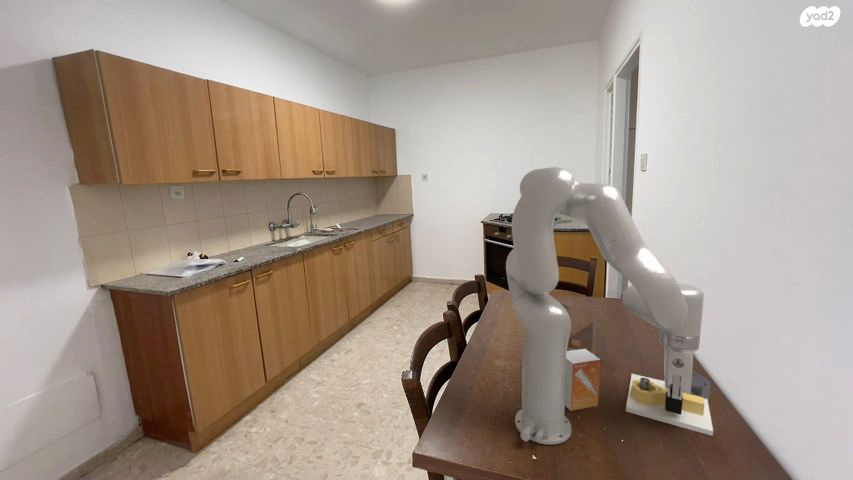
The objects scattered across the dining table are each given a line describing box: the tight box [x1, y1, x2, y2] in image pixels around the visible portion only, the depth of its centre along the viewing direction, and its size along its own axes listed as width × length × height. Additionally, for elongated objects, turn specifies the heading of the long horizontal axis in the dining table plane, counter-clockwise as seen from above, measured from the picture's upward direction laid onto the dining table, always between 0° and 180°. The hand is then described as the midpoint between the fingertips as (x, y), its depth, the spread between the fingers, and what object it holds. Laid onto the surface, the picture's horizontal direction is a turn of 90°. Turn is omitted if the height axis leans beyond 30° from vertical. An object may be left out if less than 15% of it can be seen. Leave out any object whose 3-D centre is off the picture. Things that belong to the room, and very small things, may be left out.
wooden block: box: [560, 301, 598, 356], centre depth 114 cm, size 4×11×18 cm, turn 50°
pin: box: [640, 378, 650, 391], centre depth 92 cm, size 2×2×6 cm
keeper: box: [691, 371, 712, 404], centre depth 93 cm, size 7×5×6 cm
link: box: [631, 379, 704, 415], centre depth 90 cm, size 15×6×3 cm, turn 57°
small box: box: [565, 348, 601, 412], centre depth 92 cm, size 8×6×13 cm
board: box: [625, 373, 714, 437], centre depth 92 cm, size 18×17×1 cm
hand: (673, 410), depth 85 cm, fingers closed
